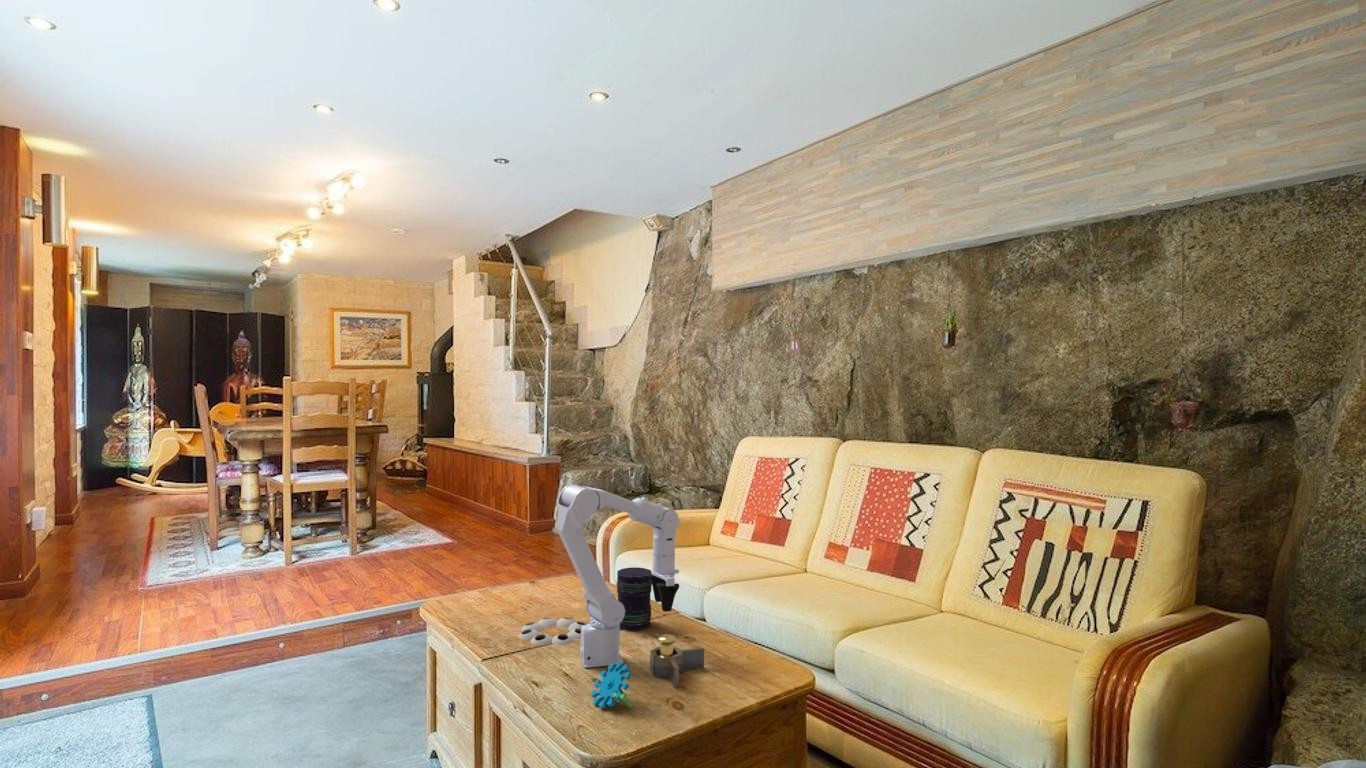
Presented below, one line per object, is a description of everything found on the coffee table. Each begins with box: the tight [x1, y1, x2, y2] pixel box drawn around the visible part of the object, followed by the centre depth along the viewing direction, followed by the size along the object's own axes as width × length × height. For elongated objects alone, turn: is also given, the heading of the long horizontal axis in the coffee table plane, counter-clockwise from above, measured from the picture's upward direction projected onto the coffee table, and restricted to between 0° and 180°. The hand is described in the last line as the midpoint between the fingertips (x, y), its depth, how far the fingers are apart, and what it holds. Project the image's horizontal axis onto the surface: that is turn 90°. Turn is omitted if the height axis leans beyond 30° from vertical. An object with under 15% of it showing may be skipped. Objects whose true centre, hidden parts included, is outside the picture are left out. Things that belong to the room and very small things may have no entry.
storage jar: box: [616, 567, 653, 632], centre depth 192 cm, size 10×10×15 cm
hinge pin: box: [657, 633, 676, 657], centre depth 162 cm, size 4×4×8 cm
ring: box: [517, 617, 588, 646], centre depth 186 cm, size 20×20×2 cm
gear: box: [591, 662, 634, 710], centre depth 146 cm, size 11×6×10 cm
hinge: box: [649, 646, 705, 689], centre depth 160 cm, size 13×13×4 cm
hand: (663, 606), depth 177 cm, fingers open, 7 cm apart
